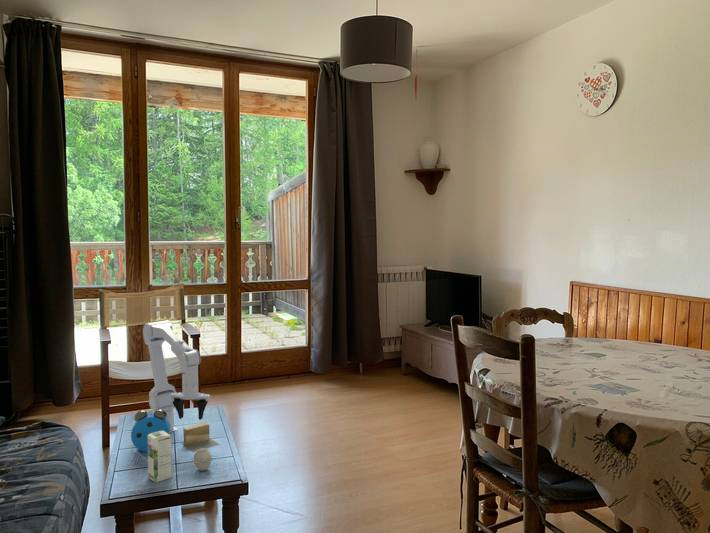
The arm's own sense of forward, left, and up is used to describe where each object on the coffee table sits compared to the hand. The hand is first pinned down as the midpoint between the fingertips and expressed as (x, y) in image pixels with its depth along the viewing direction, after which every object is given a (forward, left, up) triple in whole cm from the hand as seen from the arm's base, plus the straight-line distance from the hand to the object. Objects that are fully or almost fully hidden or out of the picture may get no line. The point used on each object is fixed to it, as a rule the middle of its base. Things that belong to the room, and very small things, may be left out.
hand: (191, 418), depth 201 cm
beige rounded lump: (+23, -6, -10) cm, 26 cm away
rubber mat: (+2, +2, -10) cm, 10 cm away
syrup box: (+19, -19, -10) cm, 29 cm away
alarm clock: (-5, -13, -10) cm, 17 cm away
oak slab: (0, +2, -10) cm, 10 cm away
